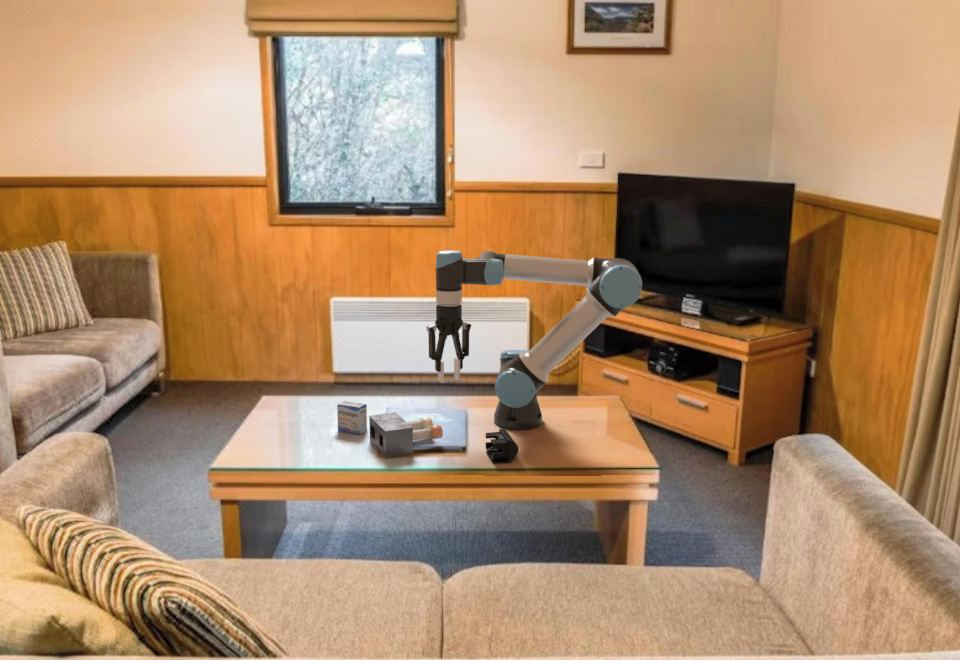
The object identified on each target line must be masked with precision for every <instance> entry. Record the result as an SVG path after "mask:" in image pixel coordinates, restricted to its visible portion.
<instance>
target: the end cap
mask: <svg viewBox="0 0 960 660" xmlns="http://www.w3.org/2000/svg"><path fill="white" fill-rule="evenodd" d="M485 439H490V441H487V442H485V449H486V450H485V453H486V455H487V457H488V458H489V460H490V461H491V463H492V464H494V465H497V464H508V463H510V462H512V461H513V460H514V459H515V458H516V457H517V456H518V454H519V446H518V444H517V442H516V441H515V440H514V439H513V438H512V436H511V435H510V433H509V432H508V431H507V430H506V429H505V428H499V429H498V431H495V432H494V431H493V432H486V433H485Z"/></svg>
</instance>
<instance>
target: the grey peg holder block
mask: <svg viewBox="0 0 960 660" xmlns="http://www.w3.org/2000/svg"><path fill="white" fill-rule="evenodd" d="M368 417H369V419H368V421H369V442H370V443H371V445H372V446H373V447H375V449H376V450H377V451H378V452H379V453H380V454H381V455H382V456H383V457H384V458H385V459H392V458H397V457H404V456H410V455H414V445H413V444H414V440H413V427H412V426H410V425H409V424H408V423H407V422H408V421H406V420H405V419H404V418H403V417H401V416H400V414H398V413H397V412H393V411H392V412H386V413H381V414H373V415H372V414H371V415H369V416H368Z"/></svg>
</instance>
